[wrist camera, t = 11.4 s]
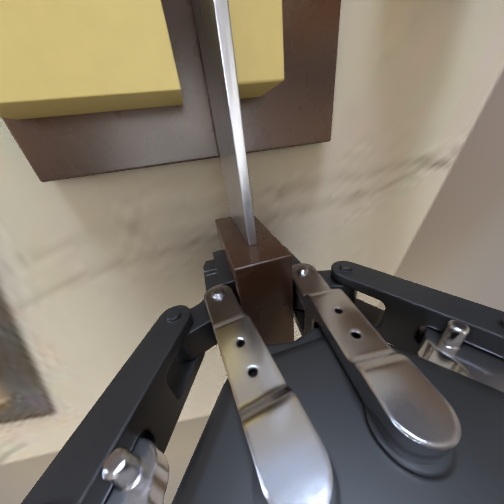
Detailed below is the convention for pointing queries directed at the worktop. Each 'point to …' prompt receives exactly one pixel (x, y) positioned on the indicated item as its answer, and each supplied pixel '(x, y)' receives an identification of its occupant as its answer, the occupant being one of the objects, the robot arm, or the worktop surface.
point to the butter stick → (84, 57)
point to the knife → (242, 189)
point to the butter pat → (257, 45)
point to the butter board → (198, 105)
